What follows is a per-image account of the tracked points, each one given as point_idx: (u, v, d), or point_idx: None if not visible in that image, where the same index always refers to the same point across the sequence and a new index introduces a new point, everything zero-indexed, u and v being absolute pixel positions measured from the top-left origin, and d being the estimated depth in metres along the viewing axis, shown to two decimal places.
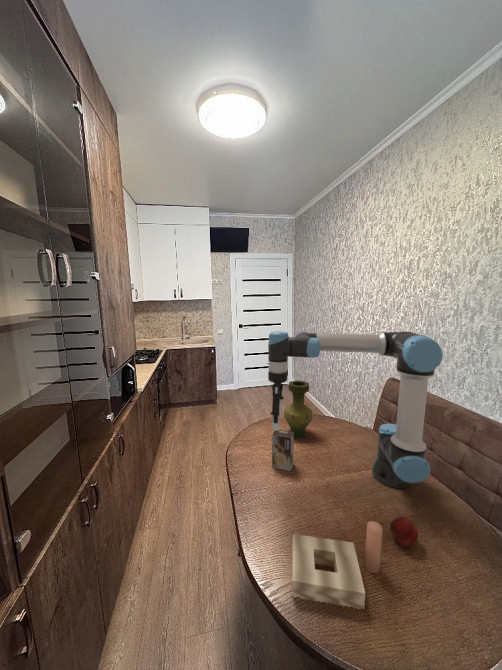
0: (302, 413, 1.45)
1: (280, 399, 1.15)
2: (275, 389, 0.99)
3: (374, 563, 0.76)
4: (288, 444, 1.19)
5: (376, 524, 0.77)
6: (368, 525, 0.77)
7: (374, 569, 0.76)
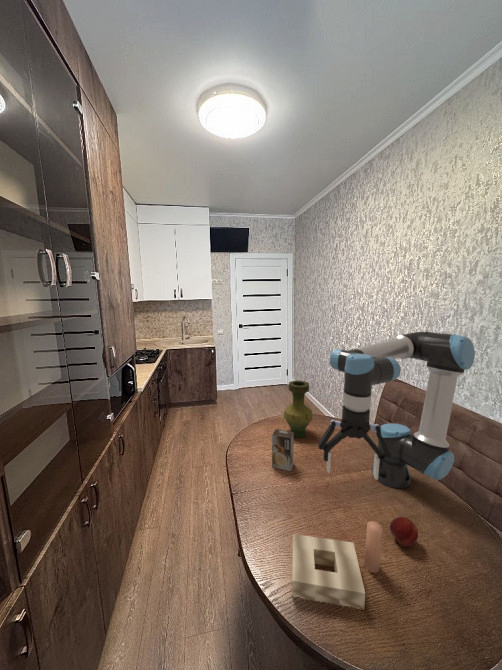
0: (302, 413, 1.45)
1: None
2: (331, 420, 0.81)
3: (374, 563, 0.76)
4: (288, 444, 1.19)
5: (376, 524, 0.77)
6: (368, 525, 0.77)
7: (374, 569, 0.76)
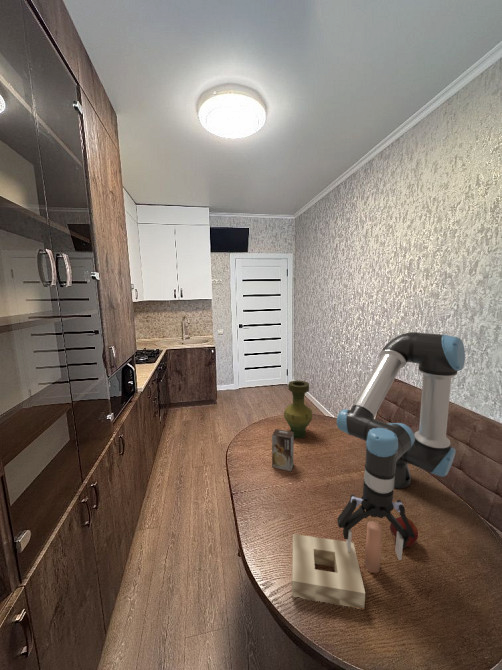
0: (302, 413, 1.45)
1: None
2: (351, 497, 0.76)
3: (374, 563, 0.76)
4: (288, 444, 1.19)
5: (376, 524, 0.77)
6: (368, 525, 0.77)
7: (374, 569, 0.76)
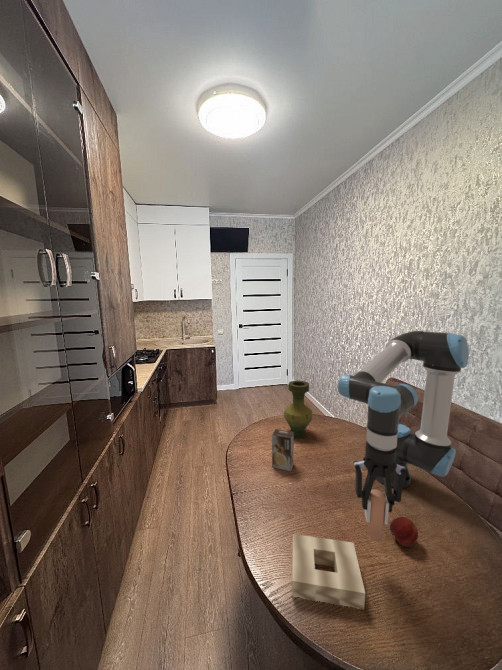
0: (302, 413, 1.45)
1: None
2: (354, 464, 0.75)
3: (377, 531, 0.74)
4: (288, 444, 1.19)
5: (379, 492, 0.76)
6: (371, 493, 0.76)
7: (377, 537, 0.75)
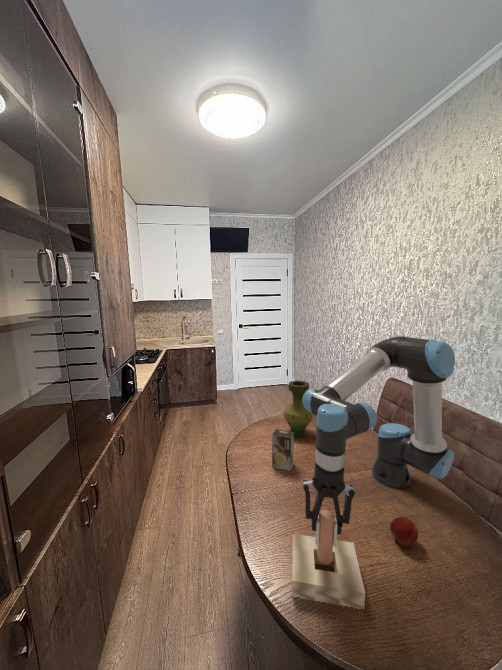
0: (302, 413, 1.45)
1: None
2: (303, 483, 0.73)
3: (326, 553, 0.72)
4: (288, 444, 1.19)
5: (329, 512, 0.74)
6: (320, 513, 0.73)
7: (325, 560, 0.72)
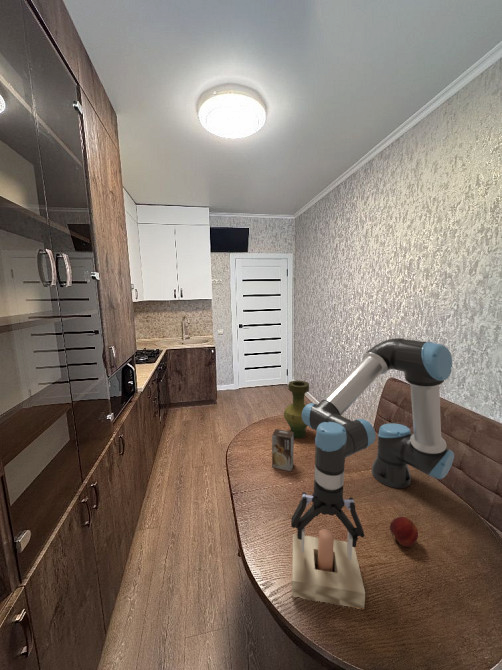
0: None
1: None
2: (302, 495, 0.73)
3: None
4: (288, 444, 1.19)
5: (328, 532, 0.75)
6: (320, 533, 0.74)
7: None
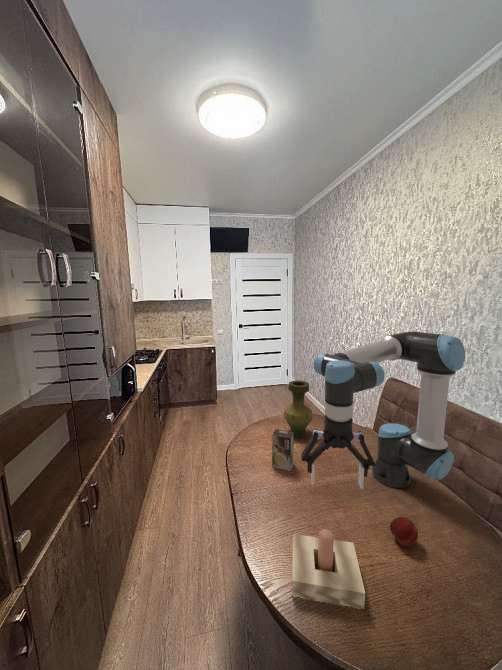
0: (302, 413, 1.45)
1: None
2: (313, 431, 0.77)
3: None
4: (288, 444, 1.19)
5: (328, 532, 0.75)
6: (320, 533, 0.74)
7: None
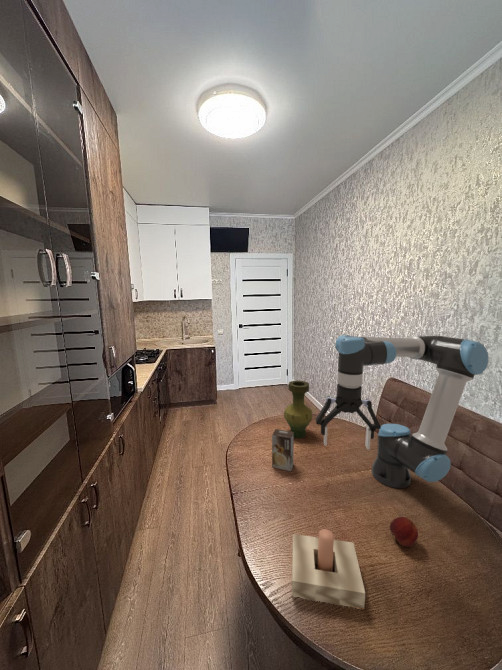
0: (302, 413, 1.45)
1: None
2: (327, 398, 0.89)
3: None
4: (288, 444, 1.19)
5: (328, 532, 0.75)
6: (320, 533, 0.74)
7: None
